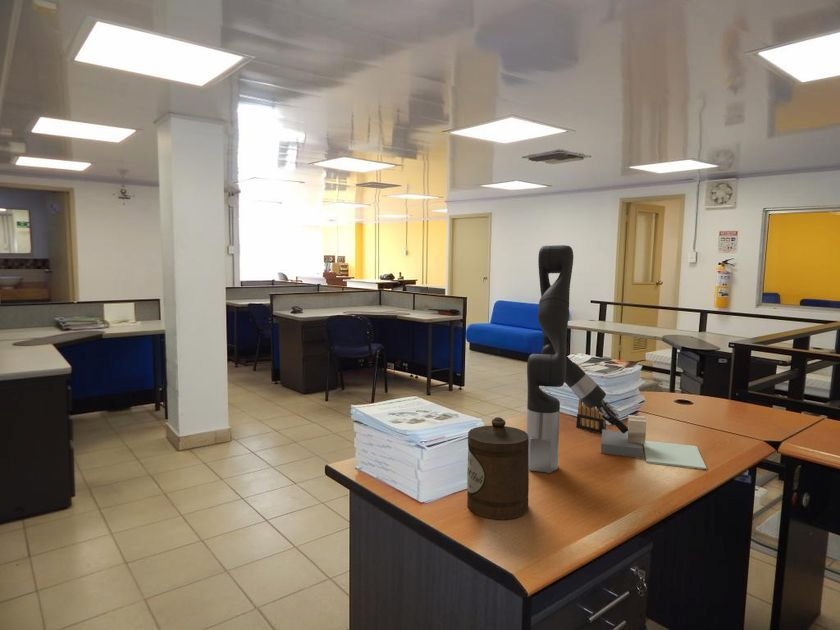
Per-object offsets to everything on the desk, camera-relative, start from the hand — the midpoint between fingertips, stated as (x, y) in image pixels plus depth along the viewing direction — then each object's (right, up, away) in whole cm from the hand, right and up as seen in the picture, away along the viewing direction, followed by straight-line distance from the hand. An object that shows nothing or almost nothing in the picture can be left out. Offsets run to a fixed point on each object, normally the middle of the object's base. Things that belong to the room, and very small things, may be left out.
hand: (625, 431), depth 172 cm
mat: (+12, -6, -6) cm, 15 cm away
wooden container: (-48, -9, -42) cm, 64 cm away
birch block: (+3, -3, -1) cm, 4 cm away
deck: (-1, -5, +1) cm, 6 cm away
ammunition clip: (-5, -4, +19) cm, 20 cm away
